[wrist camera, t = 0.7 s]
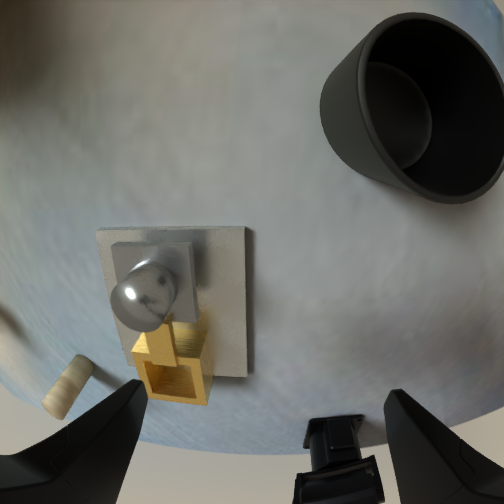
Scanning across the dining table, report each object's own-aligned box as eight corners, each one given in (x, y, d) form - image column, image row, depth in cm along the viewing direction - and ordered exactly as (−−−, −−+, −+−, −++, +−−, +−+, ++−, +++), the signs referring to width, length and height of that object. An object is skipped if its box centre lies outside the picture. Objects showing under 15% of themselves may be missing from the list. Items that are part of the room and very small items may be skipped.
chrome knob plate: (247, 373, 26) (242, 429, 20) (131, 362, 27) (106, 409, 20) (245, 226, 21) (235, 263, 15) (100, 228, 22) (50, 258, 15)
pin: (97, 374, 28) (68, 423, 21) (79, 370, 28) (48, 415, 21) (89, 356, 27) (56, 405, 20) (71, 352, 27) (37, 397, 20)
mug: (429, 215, 20) (500, 257, 11) (297, 142, 19) (321, 139, 10) (468, 118, 17) (546, 119, 8) (346, 35, 16) (391, -22, 7)
